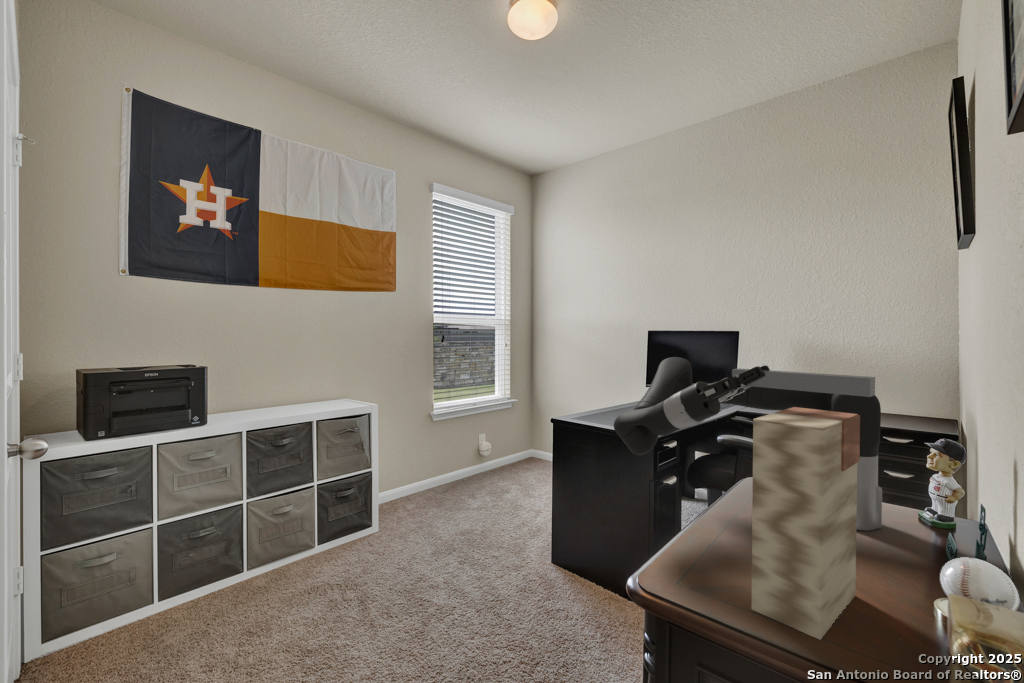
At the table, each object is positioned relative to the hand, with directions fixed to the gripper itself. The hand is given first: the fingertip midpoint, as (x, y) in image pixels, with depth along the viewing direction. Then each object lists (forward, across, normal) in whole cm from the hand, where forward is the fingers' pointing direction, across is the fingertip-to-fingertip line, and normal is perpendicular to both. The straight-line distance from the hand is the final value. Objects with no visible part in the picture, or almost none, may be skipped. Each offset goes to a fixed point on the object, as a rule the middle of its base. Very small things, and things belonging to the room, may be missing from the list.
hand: (764, 370), depth 88 cm
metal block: (+3, 0, -5) cm, 6 cm away
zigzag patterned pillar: (-12, +4, -38) cm, 40 cm away
